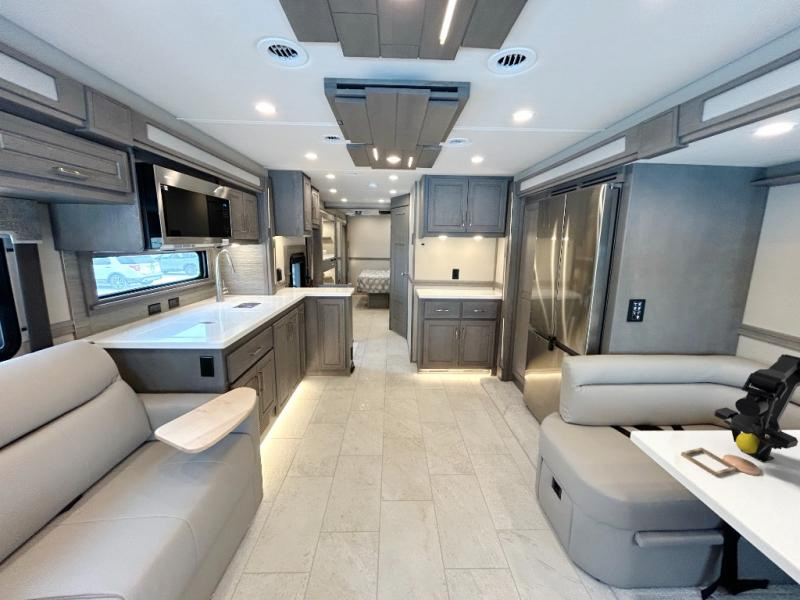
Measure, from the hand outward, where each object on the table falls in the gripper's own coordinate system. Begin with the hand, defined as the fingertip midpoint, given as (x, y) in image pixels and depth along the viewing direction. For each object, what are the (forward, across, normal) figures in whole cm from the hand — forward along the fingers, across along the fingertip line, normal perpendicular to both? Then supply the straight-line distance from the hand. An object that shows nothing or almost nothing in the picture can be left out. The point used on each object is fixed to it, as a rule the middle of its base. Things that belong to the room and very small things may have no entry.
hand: (746, 447), depth 107 cm
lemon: (+2, 0, 0) cm, 3 cm away
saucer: (+8, 0, 0) cm, 8 cm away
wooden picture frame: (+7, -4, -10) cm, 13 cm away
